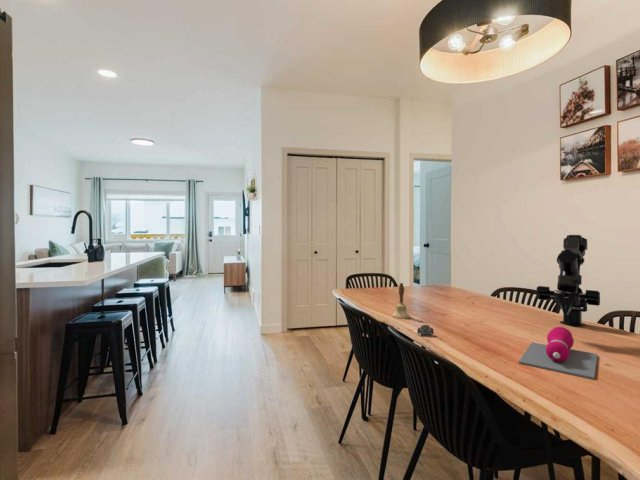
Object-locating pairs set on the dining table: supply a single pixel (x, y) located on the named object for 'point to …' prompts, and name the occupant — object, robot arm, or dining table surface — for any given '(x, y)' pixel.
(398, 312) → the hand bell
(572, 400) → the dining table surface
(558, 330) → the pepper mill
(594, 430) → the dining table surface
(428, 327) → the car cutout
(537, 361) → the mat
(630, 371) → the dining table surface
